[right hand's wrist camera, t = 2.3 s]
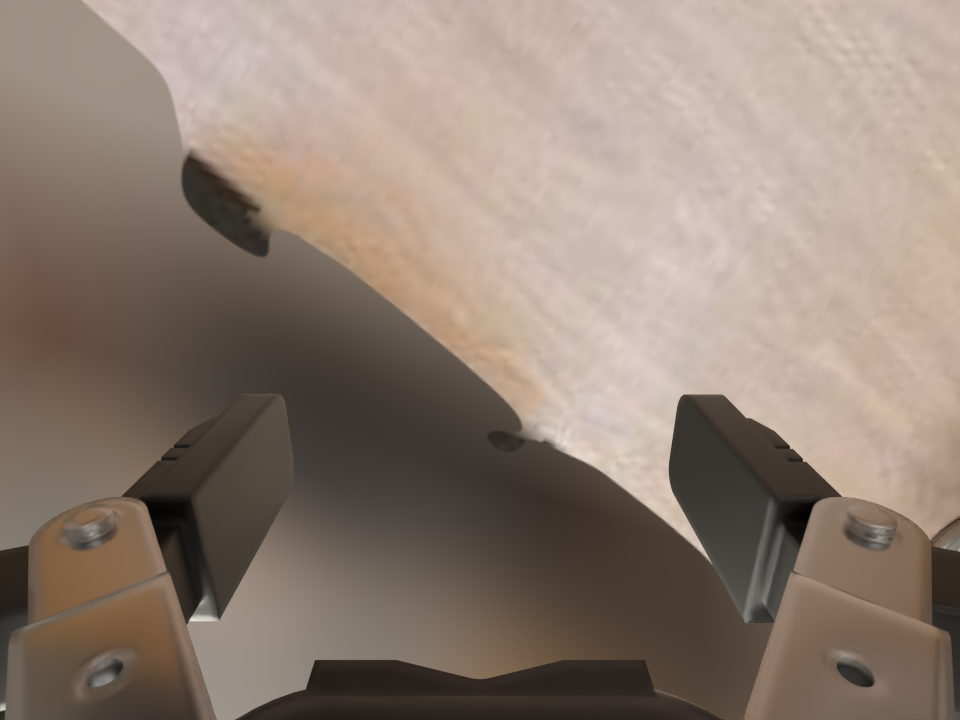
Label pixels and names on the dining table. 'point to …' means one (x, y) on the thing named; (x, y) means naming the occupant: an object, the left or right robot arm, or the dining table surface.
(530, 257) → the dining table surface
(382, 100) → the dining table surface
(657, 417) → the dining table surface
